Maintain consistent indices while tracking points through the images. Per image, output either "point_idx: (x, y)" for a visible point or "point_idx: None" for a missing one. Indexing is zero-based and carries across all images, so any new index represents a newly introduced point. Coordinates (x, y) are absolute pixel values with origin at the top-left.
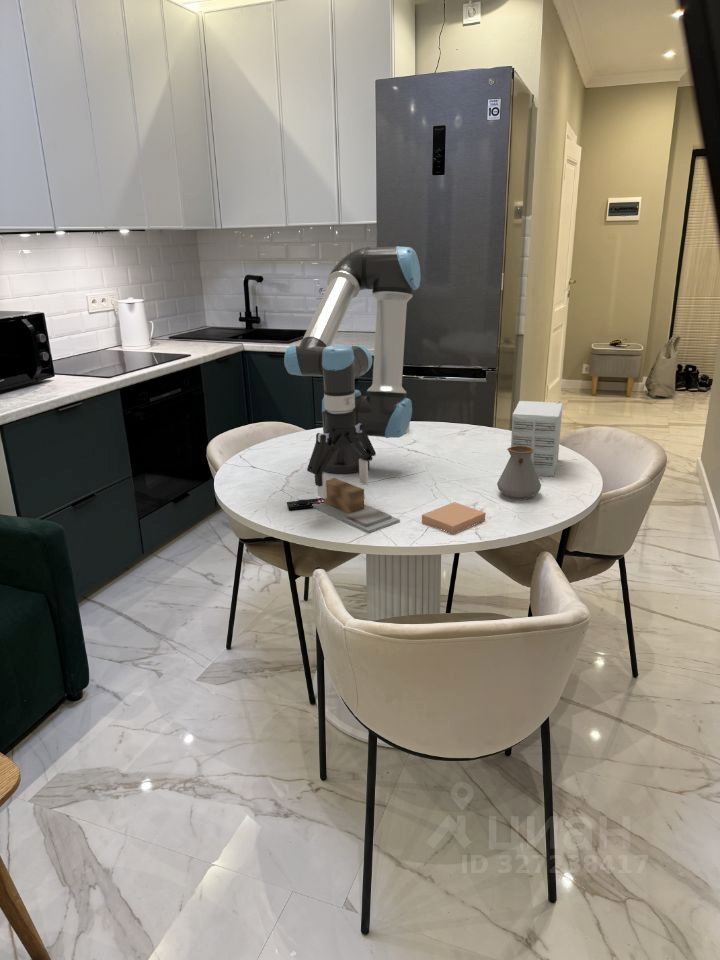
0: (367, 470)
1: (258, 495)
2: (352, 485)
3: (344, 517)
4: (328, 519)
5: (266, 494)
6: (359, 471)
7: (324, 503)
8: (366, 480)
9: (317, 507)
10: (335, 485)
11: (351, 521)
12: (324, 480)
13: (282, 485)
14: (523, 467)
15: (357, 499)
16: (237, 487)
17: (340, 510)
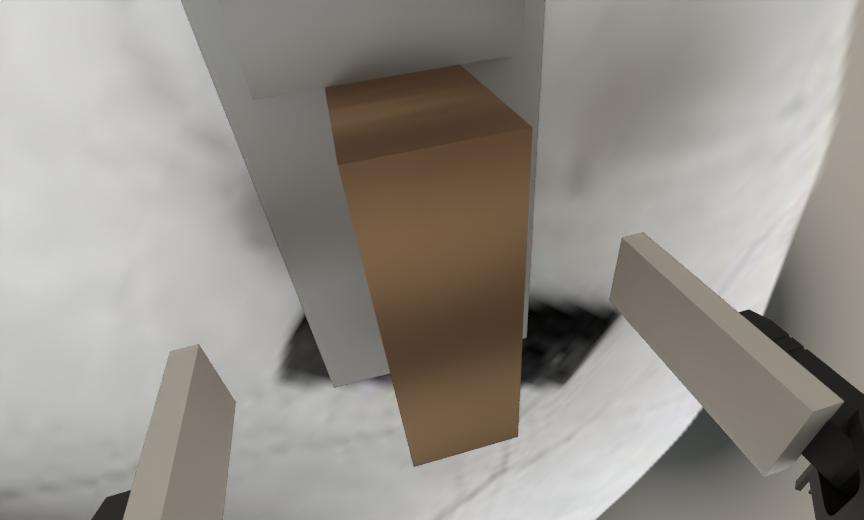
0: (138, 492)
1: (587, 451)
2: (388, 313)
3: (519, 58)
4: (578, 124)
5: (563, 453)
6: (223, 500)
7: None
8: (184, 382)
9: (528, 287)
10: (506, 357)
11: None
12: (763, 344)
13: (473, 499)
14: None
15: (421, 110)
16: (584, 502)
17: None
